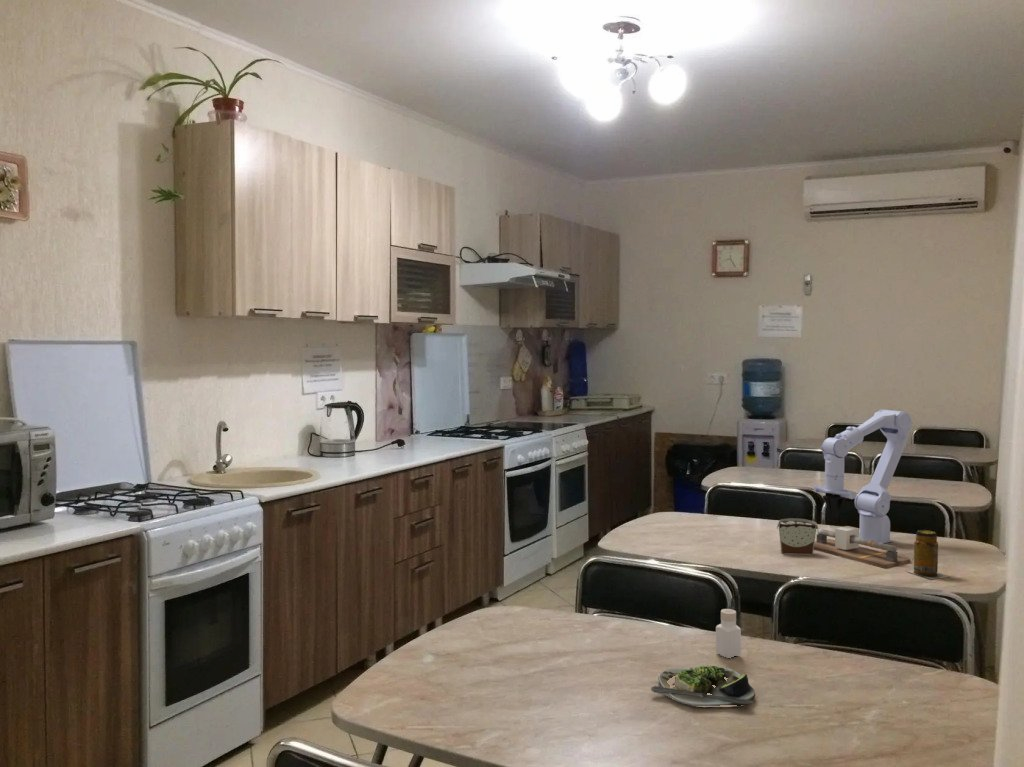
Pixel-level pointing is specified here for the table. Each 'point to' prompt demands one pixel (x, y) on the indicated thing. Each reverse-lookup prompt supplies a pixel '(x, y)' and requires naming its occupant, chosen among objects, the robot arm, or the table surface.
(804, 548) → the food container
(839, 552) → the wooden slider rail
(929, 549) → the condiment
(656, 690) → the salad plate
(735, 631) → the salt shaker
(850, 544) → the collar
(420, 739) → the table surface
